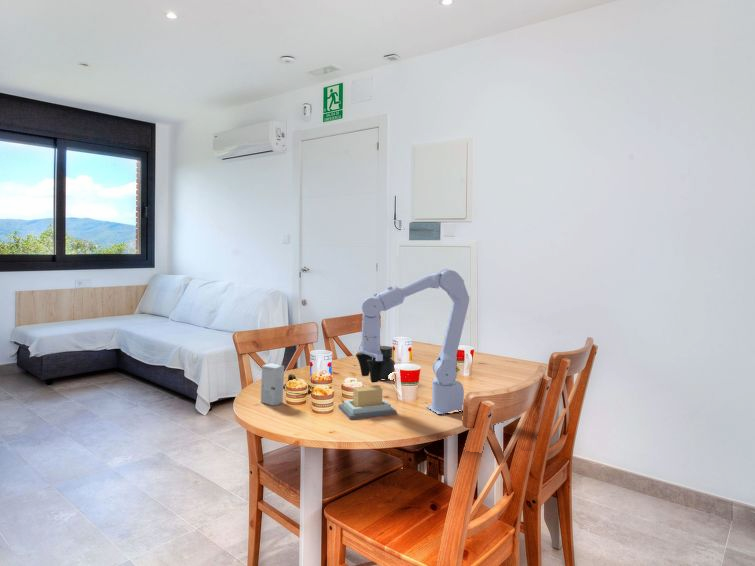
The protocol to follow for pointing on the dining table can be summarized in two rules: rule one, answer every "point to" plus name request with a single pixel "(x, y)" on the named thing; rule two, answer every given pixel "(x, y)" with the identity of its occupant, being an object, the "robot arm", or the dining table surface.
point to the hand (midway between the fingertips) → (369, 379)
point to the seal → (294, 378)
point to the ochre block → (367, 396)
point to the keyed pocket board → (366, 410)
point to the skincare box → (272, 384)
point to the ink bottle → (387, 362)
